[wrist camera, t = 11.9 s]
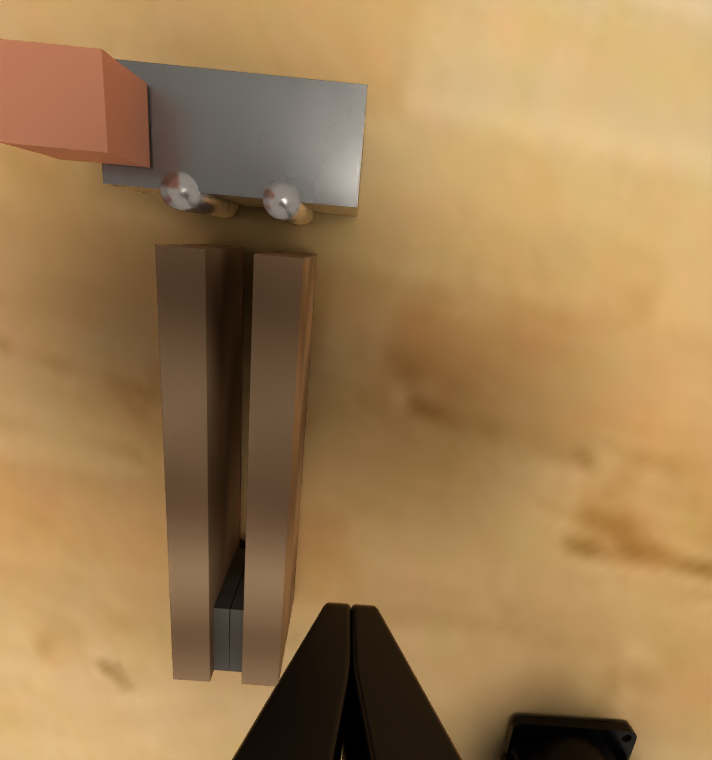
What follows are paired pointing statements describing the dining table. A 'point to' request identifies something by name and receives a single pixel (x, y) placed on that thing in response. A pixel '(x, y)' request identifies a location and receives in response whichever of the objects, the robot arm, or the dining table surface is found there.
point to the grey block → (248, 142)
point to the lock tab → (72, 104)
